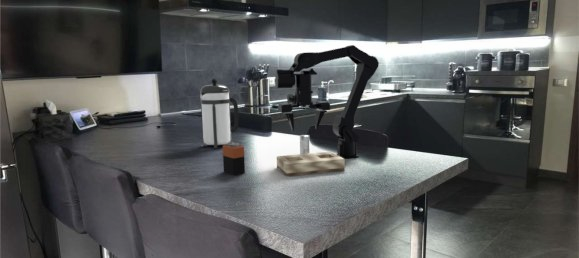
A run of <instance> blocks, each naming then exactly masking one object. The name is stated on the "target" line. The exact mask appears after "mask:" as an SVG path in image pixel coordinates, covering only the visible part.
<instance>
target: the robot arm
mask: <svg viewBox="0 0 579 258" xmlns="http://www.w3.org/2000/svg"><path fill="white" fill-rule="evenodd" d="M342 58H349V59H350V61H352V63H354V64H355V65H356V69H355V80H354V82H353V85H352V87H351V90H350V92H349V95H348V97H347V101H346V102H345V106H344V107H343V110H342V112H341V114H340V115H337V114H336V115H335V117H334V121H333V123H332V124H331V125H332V132H333V133H334V135H336V136H337V139H338V144H337V146H336V147H337V149H336V150H337V151H336V152H337V153H336V155H338V156H340V157H342V158H344V159H350V158H359V155H358V153H357V151H358V148H357V147H358V142H359V140H360V139H359V138H360V137H359V135H358V134H357V133H356V132H355V131H354V128H355V117H356V116H355V115H356V112H357V110H358V108H359V105H360V102H361V100H362V98H363V95H364V92H365V90H366V87H367V84H368V82H369V80H370V79H372V77H373V76H374V75H375V73H376V72H377V70H378V69H379V64H380V63H379V60H378V59H377V57H376V56H373V55H370V54H368V53H367V52H365V51H364V50H362V49H360V48H358V47H357V46H356V45H354V44H352V45H347V46H344V47H340V48H339V47H338V48H333V49H329V50H324V51H320V52H317V51H316V52H311V51H310V52H309V51H308V52H300V53H296V55H295V56H294V59H293V63H292V65H291V66H290V67H289V68H288V69H276V70H275V77H274V86H275V89H276V90H278V89H279V90H280V89H293V86H295V92H294V94H293V93H288V94H287V95H286V96H287V98H286V100H287V102H285V103H278V105H277V111H278V112H280V113H281V114H282V115H285V117H286V119H287V121H288V124H289V126H290V129H291V131H292V132H294V130H295V123H294V121H295V119H294V112H292V111H297V110H300V111H301V110H312V109H314V113H315V117H314V127H315V130H318V129H319V126H320V124H321V121H322V119H323V117H324V115H325V113H328V111H331V103H330V102H329V101H323V100H322V101H321V100H319V101H315V103H314V102H313V99H312V98H313V95H312V94H314V90H312V89H313V88H312V76H316V75H318V72H317V71H315V69H314V68H312V67H315V66H317V65H319V64H321V63H323V62H329V61H334V60H338V59H342ZM308 69H309V70H308Z"/></svg>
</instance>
